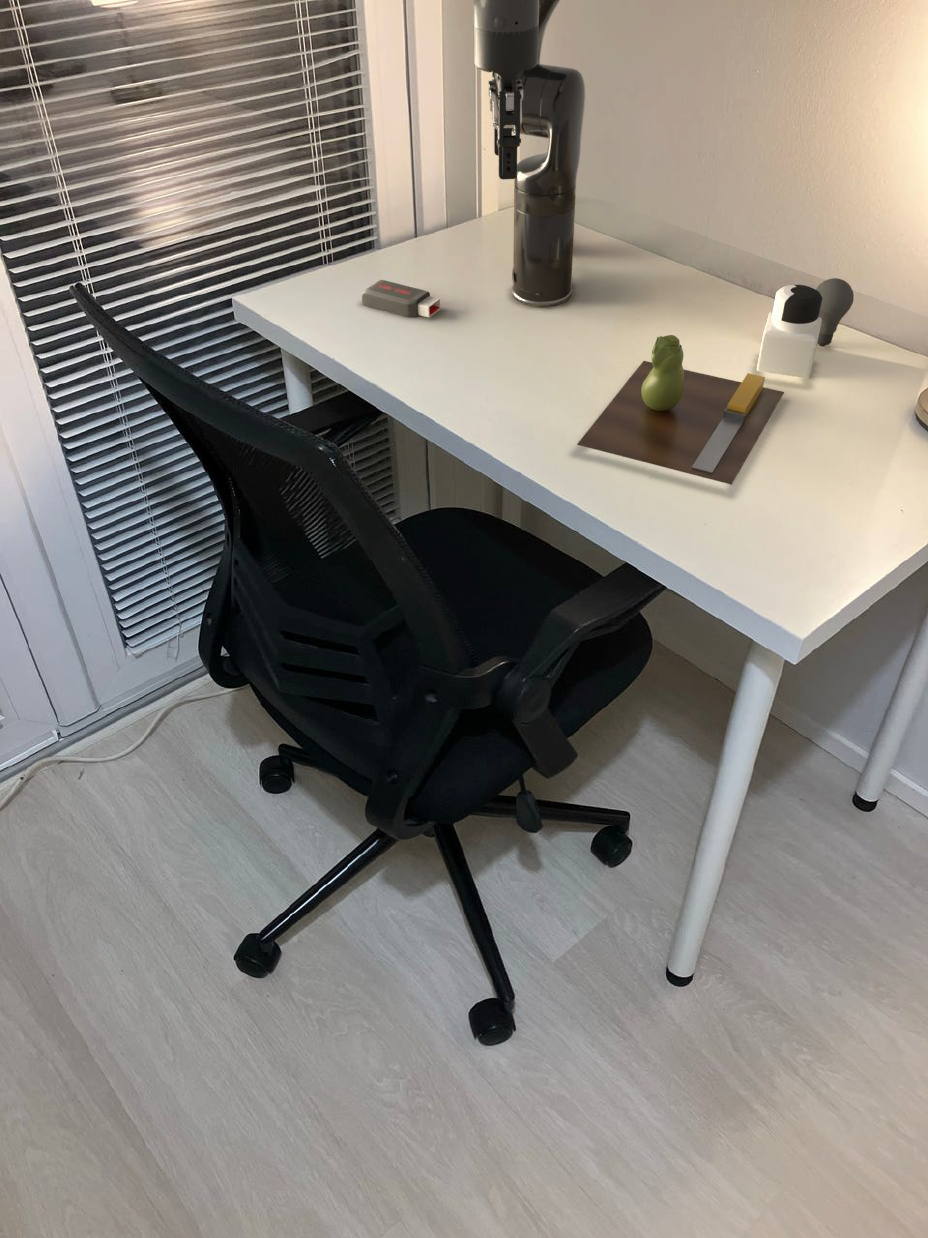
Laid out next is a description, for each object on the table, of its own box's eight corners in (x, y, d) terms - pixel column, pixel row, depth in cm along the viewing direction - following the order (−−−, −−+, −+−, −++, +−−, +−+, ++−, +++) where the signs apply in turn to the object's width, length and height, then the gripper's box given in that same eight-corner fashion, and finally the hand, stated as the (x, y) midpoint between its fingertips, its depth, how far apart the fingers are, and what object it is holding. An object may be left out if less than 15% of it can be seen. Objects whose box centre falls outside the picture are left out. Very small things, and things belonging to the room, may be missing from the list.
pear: (676, 421, 136) (685, 350, 129) (635, 415, 137) (642, 344, 131) (683, 400, 140) (693, 330, 133) (644, 394, 141) (651, 325, 134)
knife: (744, 384, 143) (746, 372, 141) (764, 389, 142) (766, 377, 140) (690, 468, 128) (692, 456, 127) (712, 474, 127) (714, 461, 126)
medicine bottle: (812, 363, 149) (830, 282, 141) (807, 387, 144) (825, 305, 136) (761, 356, 151) (776, 276, 143) (754, 380, 146) (769, 298, 138)
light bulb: (801, 335, 156) (815, 270, 149) (840, 338, 155) (856, 272, 148) (803, 352, 152) (817, 287, 145) (842, 356, 151) (859, 289, 144)
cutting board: (642, 369, 149) (643, 360, 148) (782, 401, 142) (784, 391, 141) (576, 454, 133) (576, 444, 132) (729, 494, 126) (731, 484, 125)
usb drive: (380, 291, 169) (379, 275, 168) (443, 308, 165) (443, 291, 163) (362, 304, 166) (360, 287, 164) (425, 321, 161) (424, 304, 160)
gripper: (544, 35, 115) (540, 185, 126) (533, 4, 126) (530, 145, 137) (476, 37, 115) (478, 188, 126) (470, 6, 126) (472, 147, 137)
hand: (505, 165), depth 131 cm, fingers open, 8 cm apart
